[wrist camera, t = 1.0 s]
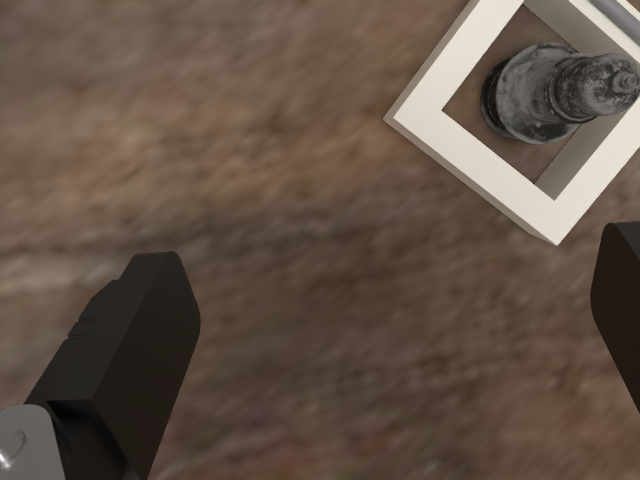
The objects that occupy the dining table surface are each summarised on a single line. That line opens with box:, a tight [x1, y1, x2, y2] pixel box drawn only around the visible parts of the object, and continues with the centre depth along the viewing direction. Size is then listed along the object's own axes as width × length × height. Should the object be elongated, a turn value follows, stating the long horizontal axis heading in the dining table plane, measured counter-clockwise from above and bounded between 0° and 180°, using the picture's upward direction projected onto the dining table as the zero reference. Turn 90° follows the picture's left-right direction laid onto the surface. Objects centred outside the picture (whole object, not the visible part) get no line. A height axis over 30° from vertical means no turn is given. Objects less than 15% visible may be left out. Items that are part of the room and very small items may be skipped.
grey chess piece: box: [480, 42, 640, 145], centre depth 29 cm, size 6×6×12 cm
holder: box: [382, 0, 640, 246], centre depth 32 cm, size 13×13×5 cm
